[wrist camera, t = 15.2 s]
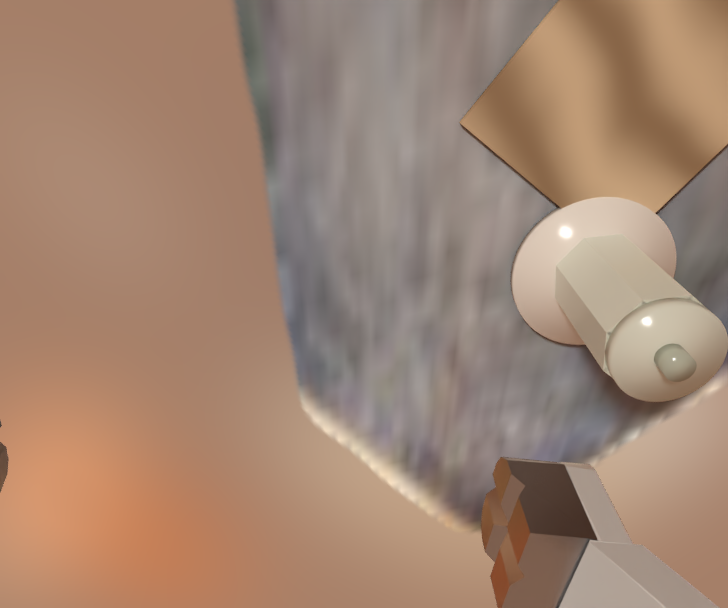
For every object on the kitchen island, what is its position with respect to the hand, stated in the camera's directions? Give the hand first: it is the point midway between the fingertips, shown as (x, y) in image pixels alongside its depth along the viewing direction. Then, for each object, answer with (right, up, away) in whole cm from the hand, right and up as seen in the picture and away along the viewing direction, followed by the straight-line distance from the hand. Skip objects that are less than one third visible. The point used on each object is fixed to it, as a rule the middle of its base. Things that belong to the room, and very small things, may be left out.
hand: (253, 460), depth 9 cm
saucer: (+18, +5, +30) cm, 35 cm away
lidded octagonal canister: (+18, +4, +30) cm, 35 cm away
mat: (+18, +16, +25) cm, 34 cm away
